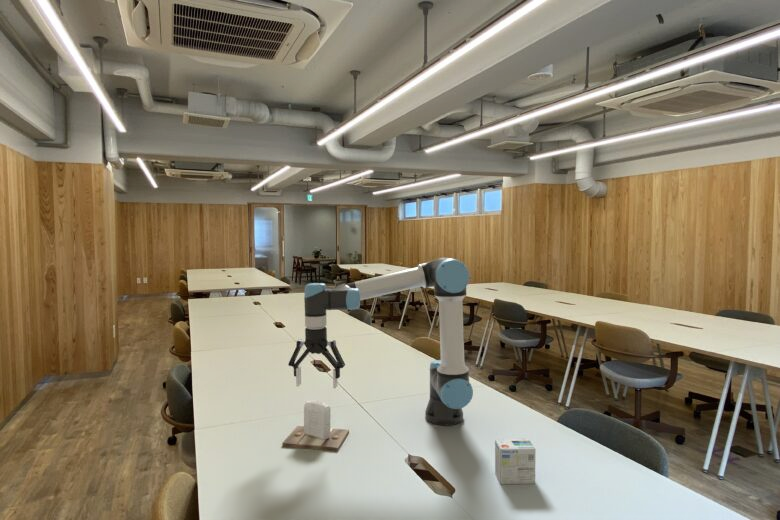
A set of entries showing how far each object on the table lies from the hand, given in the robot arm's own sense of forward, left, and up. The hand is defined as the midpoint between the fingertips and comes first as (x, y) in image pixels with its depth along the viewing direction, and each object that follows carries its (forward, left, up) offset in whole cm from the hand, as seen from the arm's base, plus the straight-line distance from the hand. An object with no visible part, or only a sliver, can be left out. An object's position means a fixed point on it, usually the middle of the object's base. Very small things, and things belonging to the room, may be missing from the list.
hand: (317, 386), depth 156 cm
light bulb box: (-67, +14, -20) cm, 71 cm away
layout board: (0, 0, -19) cm, 19 cm away
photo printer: (0, 0, -18) cm, 18 cm away
